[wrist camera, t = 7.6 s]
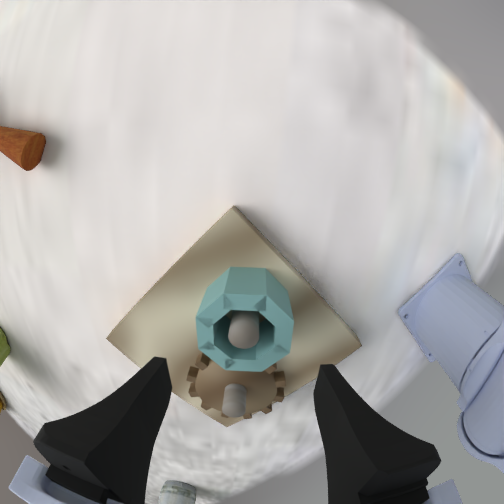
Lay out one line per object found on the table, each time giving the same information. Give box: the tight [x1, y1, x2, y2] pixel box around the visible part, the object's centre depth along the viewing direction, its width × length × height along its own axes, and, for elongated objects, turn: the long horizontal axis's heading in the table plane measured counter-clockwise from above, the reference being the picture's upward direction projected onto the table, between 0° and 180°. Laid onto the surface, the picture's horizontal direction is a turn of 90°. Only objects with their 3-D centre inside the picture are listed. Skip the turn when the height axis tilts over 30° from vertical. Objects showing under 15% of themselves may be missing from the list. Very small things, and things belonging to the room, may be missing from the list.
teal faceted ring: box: [196, 267, 294, 372], centre depth 18 cm, size 6×6×4 cm
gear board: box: [106, 206, 362, 427], centre depth 20 cm, size 15×16×6 cm
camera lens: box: [158, 481, 196, 504], centre depth 30 cm, size 6×6×8 cm
